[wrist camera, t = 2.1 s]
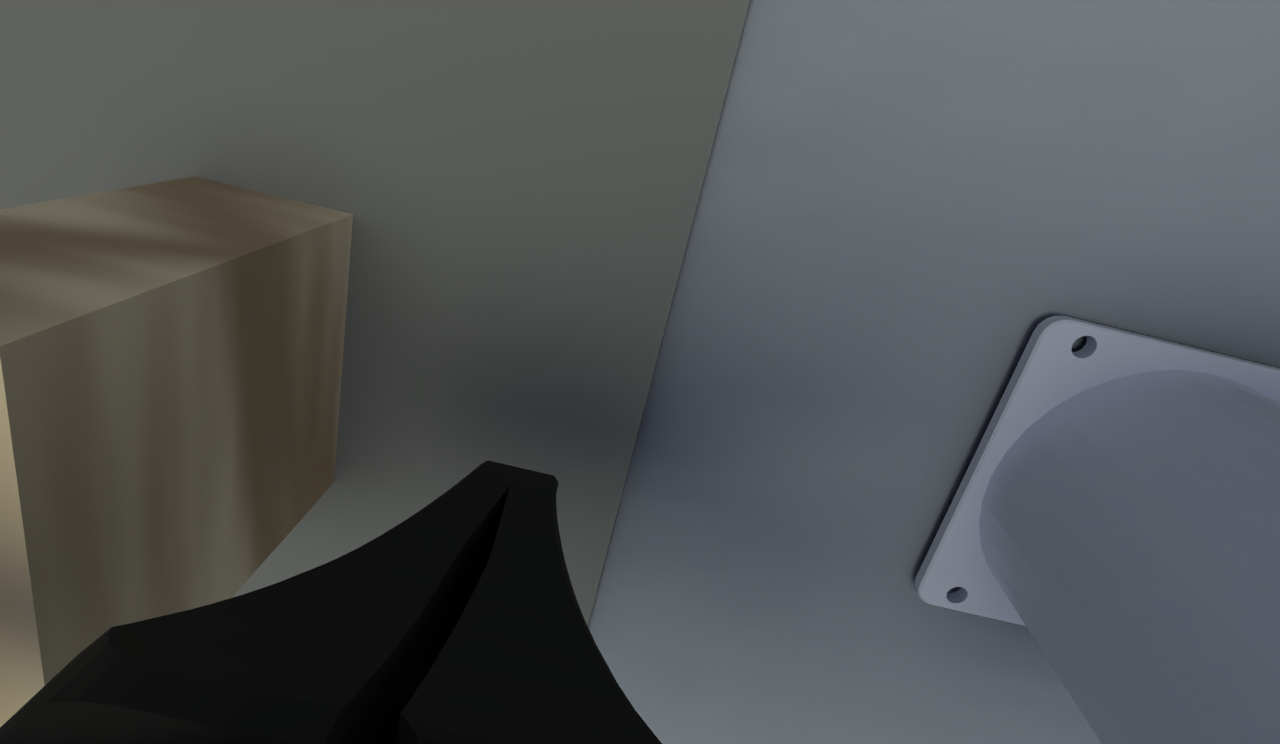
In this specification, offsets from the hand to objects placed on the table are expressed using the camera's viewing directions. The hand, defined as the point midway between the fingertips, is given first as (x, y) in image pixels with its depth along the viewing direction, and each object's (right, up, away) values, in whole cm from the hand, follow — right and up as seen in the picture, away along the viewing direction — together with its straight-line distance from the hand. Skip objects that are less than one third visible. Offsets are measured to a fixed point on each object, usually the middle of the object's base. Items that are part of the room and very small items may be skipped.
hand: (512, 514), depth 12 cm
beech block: (-6, +3, +4) cm, 8 cm away
